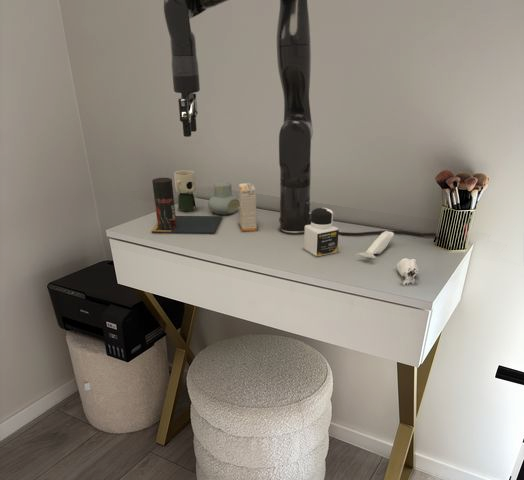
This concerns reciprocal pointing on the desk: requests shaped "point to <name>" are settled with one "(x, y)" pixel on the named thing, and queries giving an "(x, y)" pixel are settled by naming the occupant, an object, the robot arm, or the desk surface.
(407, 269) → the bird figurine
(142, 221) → the desk surface
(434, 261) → the desk surface
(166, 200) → the deodorant
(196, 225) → the mat
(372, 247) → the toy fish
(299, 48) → the robot arm
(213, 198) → the grey green rounded piece
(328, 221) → the medicine bottle
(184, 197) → the character mug
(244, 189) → the supplement box
